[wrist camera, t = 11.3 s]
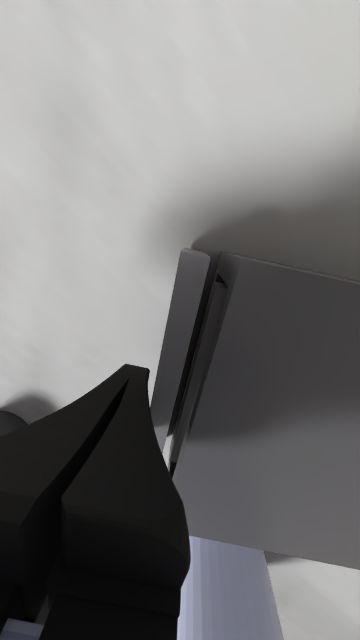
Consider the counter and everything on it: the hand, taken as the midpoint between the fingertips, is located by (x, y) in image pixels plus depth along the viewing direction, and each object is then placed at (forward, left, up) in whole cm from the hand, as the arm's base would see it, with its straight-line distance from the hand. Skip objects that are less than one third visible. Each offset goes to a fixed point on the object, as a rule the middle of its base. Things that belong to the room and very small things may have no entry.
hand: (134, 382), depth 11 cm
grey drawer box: (0, -8, -3) cm, 9 cm away
